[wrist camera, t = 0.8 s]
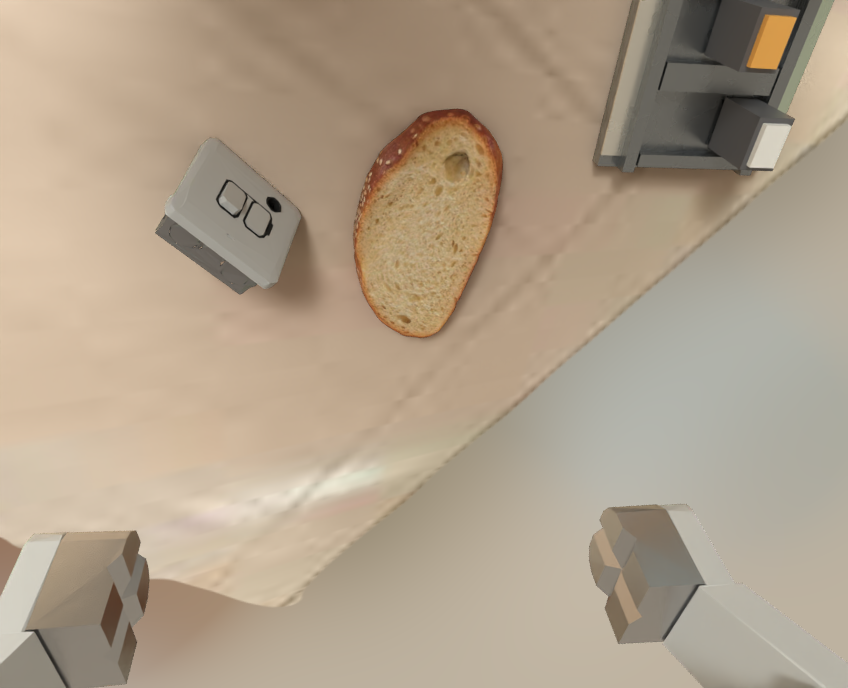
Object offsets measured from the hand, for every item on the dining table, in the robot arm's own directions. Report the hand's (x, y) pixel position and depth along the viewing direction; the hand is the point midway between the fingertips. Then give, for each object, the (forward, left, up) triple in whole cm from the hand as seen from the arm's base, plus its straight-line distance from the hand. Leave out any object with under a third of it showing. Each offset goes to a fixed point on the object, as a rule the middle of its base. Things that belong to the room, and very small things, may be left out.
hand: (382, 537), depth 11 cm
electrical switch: (+13, -8, -43) cm, 45 cm away
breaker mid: (-2, +29, -41) cm, 50 cm away
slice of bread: (+16, +8, -43) cm, 46 cm away
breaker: (+5, +32, -41) cm, 52 cm away
